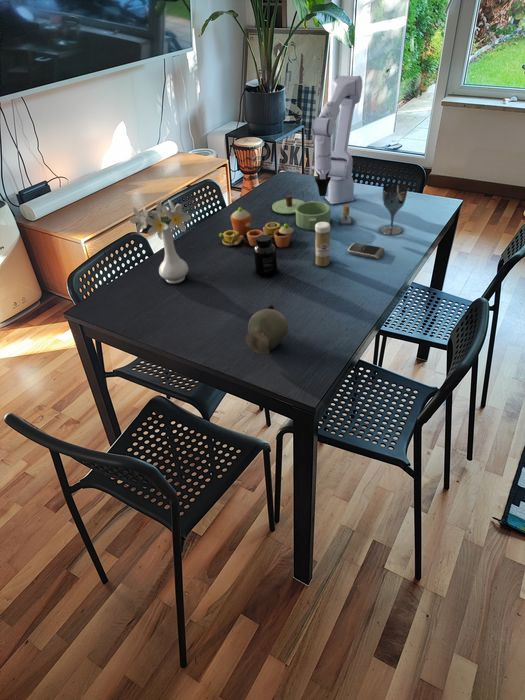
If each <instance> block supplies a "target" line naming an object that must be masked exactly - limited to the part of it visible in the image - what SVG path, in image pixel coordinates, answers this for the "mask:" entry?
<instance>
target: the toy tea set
mask: <svg viewBox="0 0 525 700" xmlns="http://www.w3.org/2000/svg"><path fill="white" fill-rule="evenodd" d="M230 221H231V224H232V228H233V229H229V230H226V231H224V232H220V233H219V234H218V236H219V237H220V238H223V239H222V241H221V242H222V244H223V245H225V246H236V245H237V246H238V245H239V244H240V243H242V240H243V239H245V236H247V240H248V244H249V246H251V247H255V246H256V238H257V237H258V236H260V235H270V236H271V237H272V238H274V242H275V245H276V247H278V248H287V247H289V245H290V242H291V235H292V233H293V232H294V228H293V227H291V226H289V224H288V223H284V224H283V225H281V224H280V222H276V221H270V222H268V223H265V225H264V226H262V230H261V229H251V227H252V214H251V213H250V212H249V211H247V210H246V209H243V208H242V207H241V206H240V207H238V208H237V210H234V212H233V213H231V215H230Z"/></svg>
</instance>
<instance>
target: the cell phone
mask: <svg viewBox="0 0 525 700" xmlns="http://www.w3.org/2000/svg"><path fill="white" fill-rule="evenodd" d="M347 253H348V254H349V255H354V256H359V257H365V258H368V259H369V258H370V259H374V260H378V259H380V258H381V257H383V255H384V253H385V248H384V247H381V246H375V245H370V244H365V243H359V242H354V243H352V244H351V245H350V247H348V249H347Z"/></svg>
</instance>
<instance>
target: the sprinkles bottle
mask: <svg viewBox="0 0 525 700" xmlns="http://www.w3.org/2000/svg"><path fill="white" fill-rule="evenodd" d="M314 232H315V261H314V262H315V265H316V266H319V267H326V266H328V265H330V251H331V250H330V245H331V244H330V241H331V239H330V232H331V224H329V223H327V222H319V223H317V224H316V225H315V230H314Z"/></svg>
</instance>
